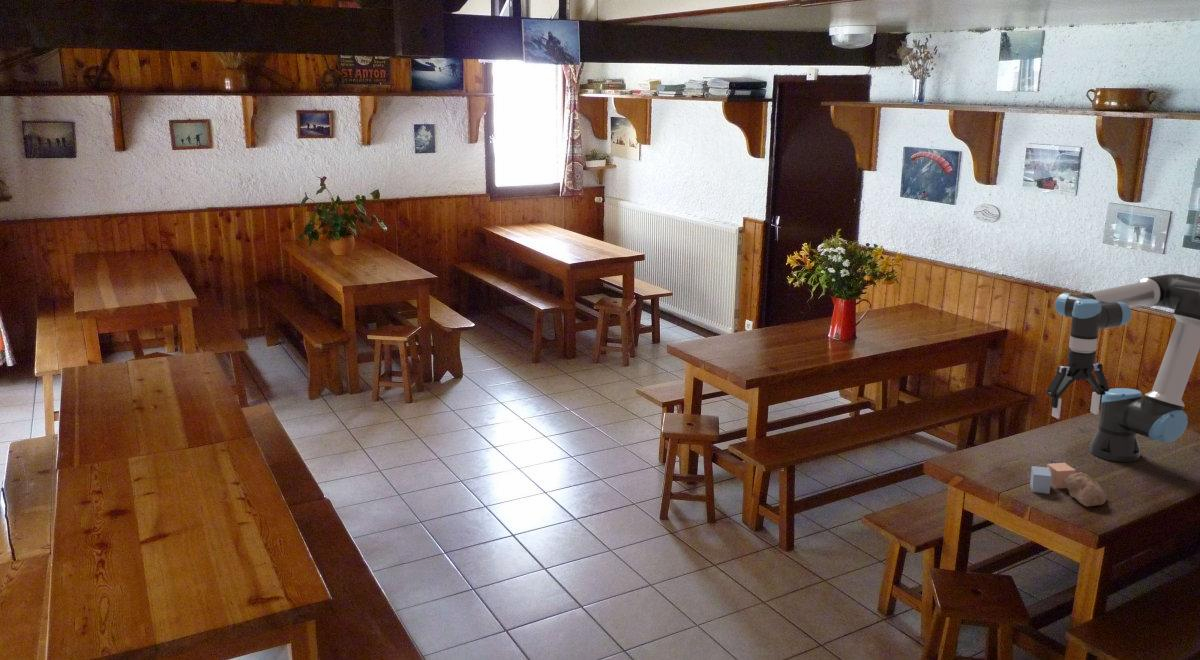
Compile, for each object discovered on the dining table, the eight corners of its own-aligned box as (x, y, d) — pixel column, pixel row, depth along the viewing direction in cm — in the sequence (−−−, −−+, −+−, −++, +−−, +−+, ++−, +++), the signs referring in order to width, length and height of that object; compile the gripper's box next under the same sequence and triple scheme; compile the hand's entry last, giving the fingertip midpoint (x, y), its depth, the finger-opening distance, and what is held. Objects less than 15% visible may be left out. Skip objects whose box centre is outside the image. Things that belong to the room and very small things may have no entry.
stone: (1065, 497, 294) (1056, 475, 289) (1091, 481, 293) (1081, 459, 289) (1091, 519, 282) (1082, 497, 278) (1118, 503, 282) (1109, 481, 277)
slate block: (1047, 485, 297) (1048, 467, 296) (1049, 493, 291) (1051, 476, 290) (1030, 483, 299) (1031, 465, 298) (1032, 492, 293) (1033, 474, 291)
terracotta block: (1062, 479, 301) (1064, 462, 299) (1073, 487, 295) (1075, 470, 294) (1045, 481, 300) (1046, 463, 299) (1055, 488, 295) (1057, 471, 293)
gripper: (1109, 343, 289) (1101, 407, 295) (1037, 349, 285) (1031, 414, 290) (1127, 349, 282) (1118, 415, 288) (1054, 356, 278) (1047, 422, 283)
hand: (1074, 415), depth 289 cm, fingers open, 13 cm apart
